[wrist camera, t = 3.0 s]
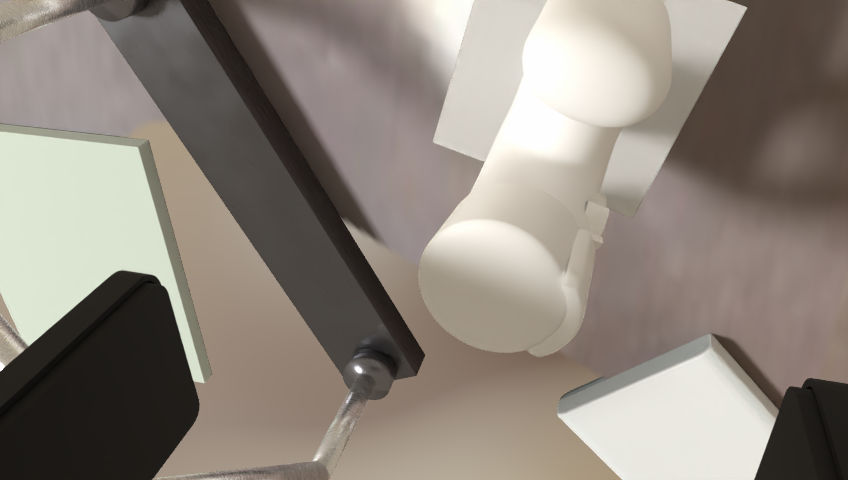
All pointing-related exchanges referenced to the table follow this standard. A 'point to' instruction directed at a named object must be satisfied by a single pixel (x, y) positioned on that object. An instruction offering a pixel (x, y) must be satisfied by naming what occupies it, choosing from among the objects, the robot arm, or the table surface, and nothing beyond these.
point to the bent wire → (252, 199)
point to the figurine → (557, 152)
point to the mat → (84, 228)
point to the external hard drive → (675, 417)
